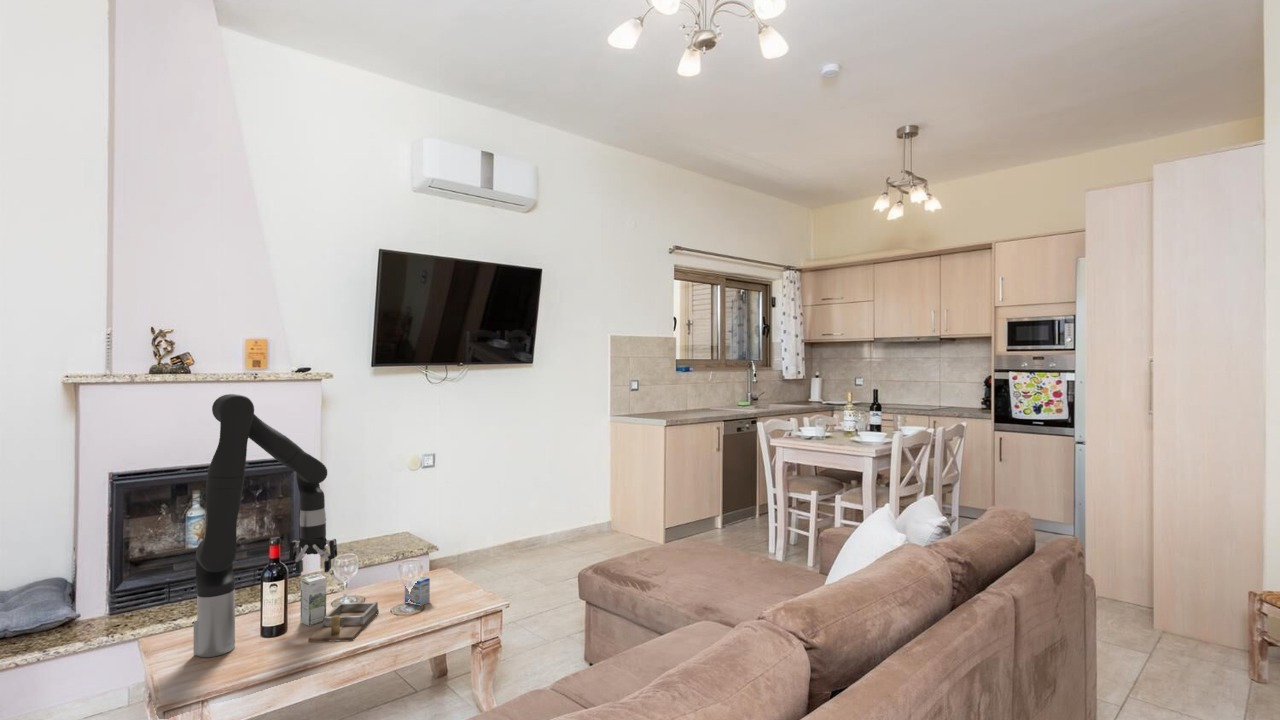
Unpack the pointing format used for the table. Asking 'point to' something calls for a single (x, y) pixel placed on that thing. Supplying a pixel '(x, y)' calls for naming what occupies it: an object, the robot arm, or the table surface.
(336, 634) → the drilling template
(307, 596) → the syrup box
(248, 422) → the robot arm
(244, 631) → the table surface
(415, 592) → the medicine box
